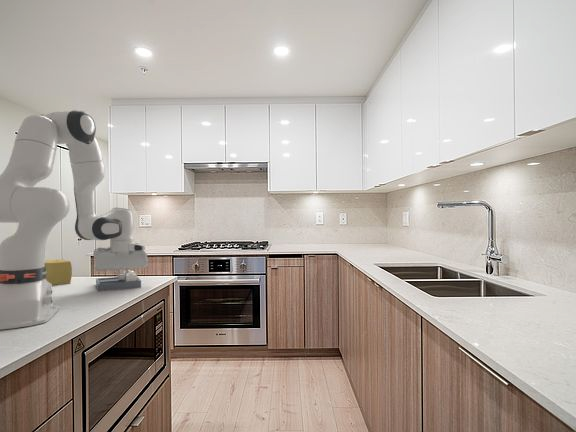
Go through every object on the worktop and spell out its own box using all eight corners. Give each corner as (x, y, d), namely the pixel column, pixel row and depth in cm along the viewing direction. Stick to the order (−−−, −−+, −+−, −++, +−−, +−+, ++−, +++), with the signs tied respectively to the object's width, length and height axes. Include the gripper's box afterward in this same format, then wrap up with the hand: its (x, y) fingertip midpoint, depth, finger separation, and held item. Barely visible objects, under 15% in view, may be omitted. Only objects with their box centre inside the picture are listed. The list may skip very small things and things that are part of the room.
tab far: (134, 279, 155) (134, 270, 155) (124, 280, 153) (124, 271, 153) (133, 278, 158) (133, 269, 158) (123, 279, 155) (123, 270, 155)
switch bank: (141, 287, 147) (141, 280, 147) (97, 291, 139) (97, 284, 139) (136, 281, 159) (136, 275, 159) (96, 284, 151) (96, 278, 151)
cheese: (36, 283, 153) (36, 260, 153) (64, 280, 161) (64, 258, 161) (43, 287, 146) (43, 263, 146) (72, 283, 154) (72, 260, 154)
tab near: (136, 283, 148) (136, 273, 148) (126, 284, 146) (126, 274, 146) (135, 281, 151) (135, 272, 151) (125, 282, 149) (125, 272, 148)
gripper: (93, 248, 138) (93, 283, 138) (148, 246, 149) (148, 278, 149) (93, 247, 143) (92, 280, 144) (146, 245, 154) (146, 276, 154)
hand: (121, 279), depth 146 cm, fingers closed
